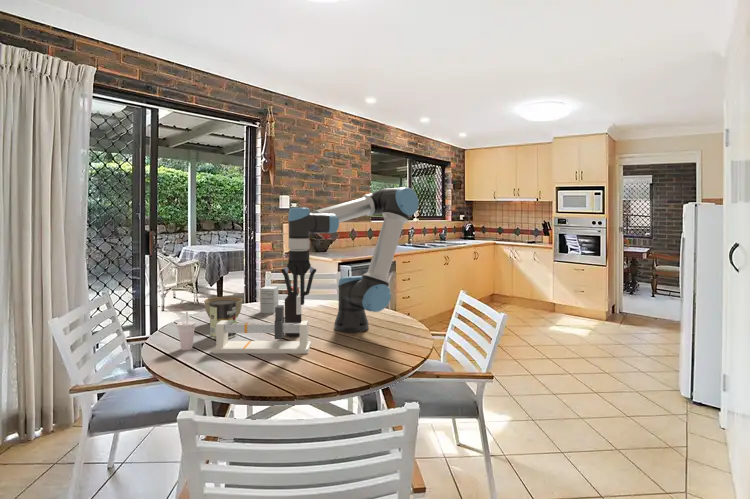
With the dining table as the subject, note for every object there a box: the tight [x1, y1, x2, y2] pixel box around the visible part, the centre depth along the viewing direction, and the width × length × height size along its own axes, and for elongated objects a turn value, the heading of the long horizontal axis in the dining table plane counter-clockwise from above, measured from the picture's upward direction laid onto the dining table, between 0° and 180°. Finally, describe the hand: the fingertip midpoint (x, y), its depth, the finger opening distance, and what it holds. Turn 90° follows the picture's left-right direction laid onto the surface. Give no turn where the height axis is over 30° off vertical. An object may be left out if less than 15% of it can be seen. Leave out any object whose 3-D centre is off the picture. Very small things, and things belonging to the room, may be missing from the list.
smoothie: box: [176, 310, 197, 351], centre depth 157 cm, size 6×6×14 cm
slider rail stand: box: [211, 320, 312, 354], centre depth 158 cm, size 34×10×10 cm, turn 92°
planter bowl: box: [204, 296, 243, 319], centre depth 194 cm, size 16×16×11 cm
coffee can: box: [209, 300, 238, 340], centre depth 174 cm, size 10×10×14 cm
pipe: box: [224, 322, 300, 334], centre depth 158 cm, size 29×3×3 cm, turn 92°
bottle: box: [284, 285, 302, 338], centre depth 177 cm, size 7×7×20 cm
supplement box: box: [259, 285, 279, 314], centre depth 218 cm, size 7×7×13 cm
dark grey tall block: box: [274, 304, 285, 340], centre depth 158 cm, size 2×7×11 cm, turn 2°
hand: (298, 313), depth 158 cm, fingers closed
